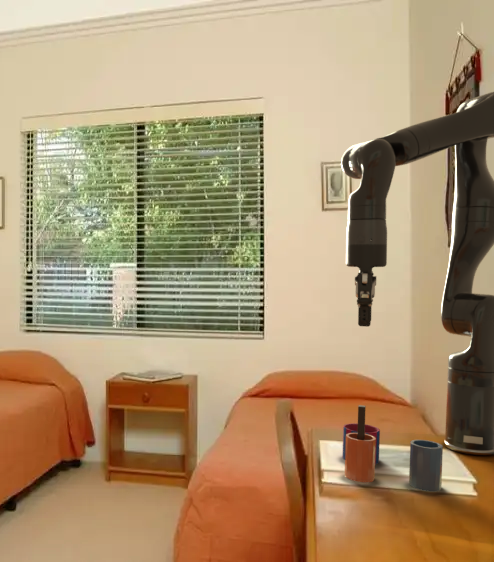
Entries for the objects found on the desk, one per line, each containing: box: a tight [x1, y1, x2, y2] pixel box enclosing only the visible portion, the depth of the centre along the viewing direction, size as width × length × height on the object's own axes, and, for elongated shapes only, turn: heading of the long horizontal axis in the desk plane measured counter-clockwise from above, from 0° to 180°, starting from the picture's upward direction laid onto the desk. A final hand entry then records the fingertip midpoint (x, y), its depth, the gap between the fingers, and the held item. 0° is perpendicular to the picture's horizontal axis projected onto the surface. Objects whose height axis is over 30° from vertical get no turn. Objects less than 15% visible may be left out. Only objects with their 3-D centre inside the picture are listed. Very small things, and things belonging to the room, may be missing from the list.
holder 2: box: [408, 439, 444, 493], centre depth 104 cm, size 5×5×8 cm
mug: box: [342, 422, 381, 465], centre depth 117 cm, size 7×10×7 cm
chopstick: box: [357, 404, 367, 440], centre depth 108 cm, size 1×1×13 cm
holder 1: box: [344, 433, 376, 483], centre depth 108 cm, size 5×5×8 cm
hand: (364, 323), depth 120 cm, fingers open, 8 cm apart
